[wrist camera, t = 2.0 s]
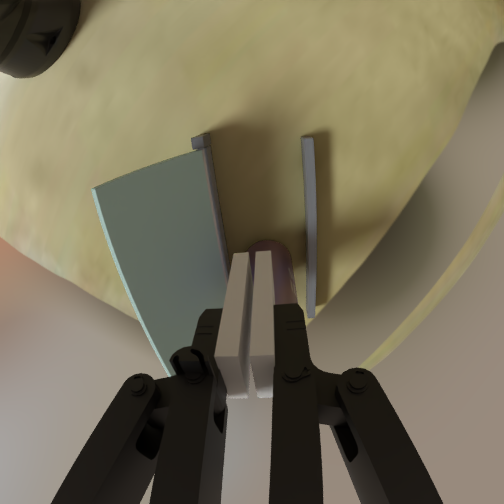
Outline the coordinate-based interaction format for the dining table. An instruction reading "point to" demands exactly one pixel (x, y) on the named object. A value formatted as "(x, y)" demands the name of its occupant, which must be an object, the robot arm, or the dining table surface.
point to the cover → (165, 247)
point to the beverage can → (277, 270)
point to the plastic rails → (310, 212)
